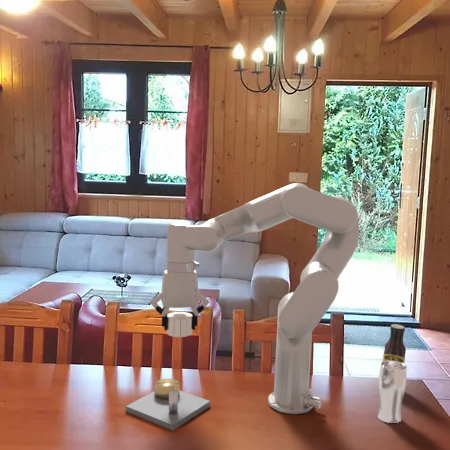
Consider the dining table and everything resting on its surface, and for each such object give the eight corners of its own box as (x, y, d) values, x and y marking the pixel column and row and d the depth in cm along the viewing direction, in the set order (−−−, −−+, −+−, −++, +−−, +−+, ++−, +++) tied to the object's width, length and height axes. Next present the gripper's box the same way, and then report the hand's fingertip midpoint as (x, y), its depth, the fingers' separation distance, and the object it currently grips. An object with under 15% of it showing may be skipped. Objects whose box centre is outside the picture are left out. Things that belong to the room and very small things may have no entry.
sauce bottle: (378, 391, 159) (383, 327, 156) (380, 383, 165) (385, 321, 162) (401, 395, 156) (407, 330, 154) (402, 387, 162) (408, 324, 159)
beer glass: (389, 427, 138) (393, 372, 136) (370, 414, 144) (374, 362, 142) (408, 421, 141) (413, 367, 139) (389, 410, 147) (393, 358, 145)
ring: (196, 332, 151) (197, 315, 150) (180, 339, 145) (181, 321, 144) (178, 327, 155) (178, 310, 154) (161, 333, 149) (162, 316, 149)
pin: (179, 411, 139) (180, 392, 138) (173, 415, 137) (174, 395, 136) (172, 409, 141) (172, 389, 140) (166, 412, 139) (167, 392, 138)
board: (209, 406, 146) (210, 401, 146) (172, 430, 133) (172, 424, 133) (165, 390, 155) (165, 385, 155) (126, 411, 142) (126, 406, 141)
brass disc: (184, 393, 150) (184, 383, 150) (168, 402, 144) (168, 391, 144) (165, 386, 154) (165, 376, 153) (149, 395, 148) (149, 384, 148)
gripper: (210, 263, 152) (208, 323, 155) (148, 264, 150) (148, 325, 152) (213, 269, 145) (211, 332, 148) (149, 270, 142) (148, 334, 145)
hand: (179, 328), depth 150 cm, fingers closed on ring, 7 cm apart
